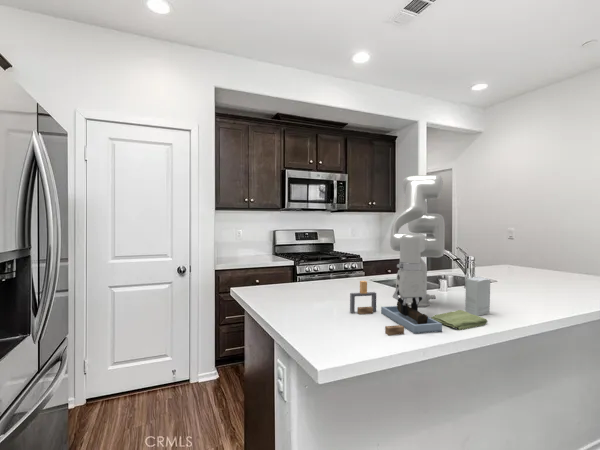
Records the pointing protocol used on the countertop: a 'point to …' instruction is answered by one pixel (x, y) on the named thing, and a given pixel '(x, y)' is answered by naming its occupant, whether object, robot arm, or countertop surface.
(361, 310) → the cradle
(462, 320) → the washcloth
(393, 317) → the tray
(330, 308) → the countertop surface
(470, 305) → the skincare box
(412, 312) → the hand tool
